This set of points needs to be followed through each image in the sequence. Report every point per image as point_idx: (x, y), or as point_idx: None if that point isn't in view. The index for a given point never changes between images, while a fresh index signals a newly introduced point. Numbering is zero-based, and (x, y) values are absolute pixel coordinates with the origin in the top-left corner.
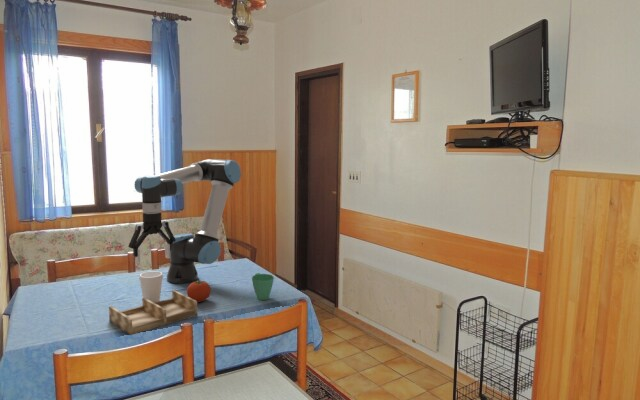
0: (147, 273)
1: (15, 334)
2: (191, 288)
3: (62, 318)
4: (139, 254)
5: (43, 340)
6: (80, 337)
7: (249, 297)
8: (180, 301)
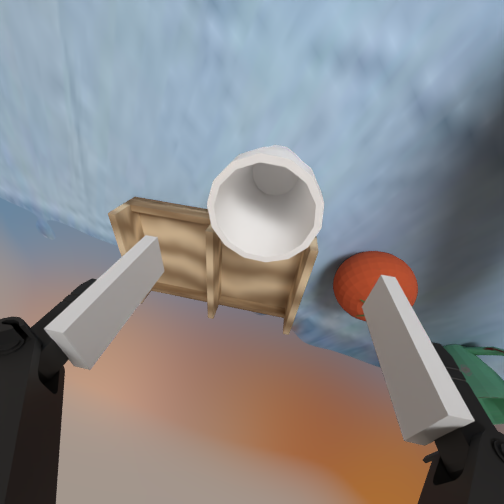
0: (276, 163)
1: None
2: (342, 298)
3: (11, 59)
4: (119, 323)
5: (4, 180)
6: (74, 224)
7: (447, 332)
8: (297, 273)
